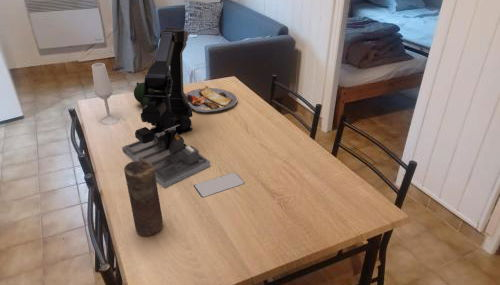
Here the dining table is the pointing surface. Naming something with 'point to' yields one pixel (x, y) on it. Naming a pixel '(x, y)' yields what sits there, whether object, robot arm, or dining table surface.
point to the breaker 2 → (190, 155)
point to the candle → (144, 197)
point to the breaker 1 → (155, 137)
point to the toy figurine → (141, 94)
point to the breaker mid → (177, 143)
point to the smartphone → (218, 184)
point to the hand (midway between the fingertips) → (166, 149)
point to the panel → (164, 161)
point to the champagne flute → (103, 88)
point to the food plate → (210, 99)
